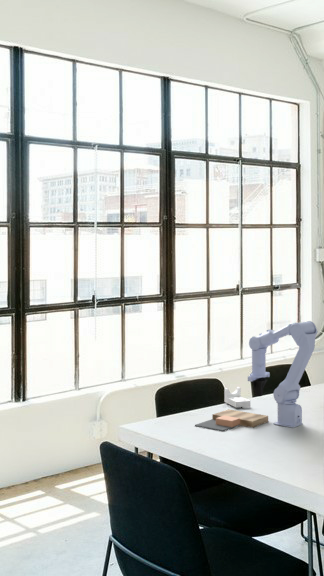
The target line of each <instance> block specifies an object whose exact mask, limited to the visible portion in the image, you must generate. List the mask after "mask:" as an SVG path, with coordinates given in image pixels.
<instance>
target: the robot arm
mask: <svg viewBox="0 0 324 576" xmlns="http://www.w3.org/2000/svg"><path fill="white" fill-rule="evenodd" d="M318 333H319V331H318V329H317V327H316V324H315V323H314V322H313V321H311V320H308V321H301V322H293V323H289V324H287V325H285V326H283V327H281V328H279V329H277V330H273V329H267V330H266V332H264V333H262V332H261V333H259V334H258V335H257V336H256V335H255V336H254V335H253V336H252V337H250V338H249V342H248V345H249V348H250V349H251V373H249V375H248V376H247V382H251V384H252V387H253V389H254V393H255V396H257V397H262V396H263V393H264V388H265V386H266V383H267V382H268V379H267V378H270V376H271V374H270V372H269V371H266V369H267V368H266V360H267V359H266V354H267V349H268V347H269V346H272V345H275V344H278V342H279V341H280V339H281V338H284V337H286V336H291V337H292V338H293V341H294V342H295V344H296V346H298V347H299V348H298V349H297V352H296V355H295V356H294V358H293V361H292V364H291V365H290V367H289V370H288V372H287V375H286V377H285V378H284V380H283V381H281V382H280V383H279V384H278V386H277V387H276V388H275V389H274V390H273V394H272V395H273V399H274V401H276V404H277V421H275V422H273V425H277V426H282V427H288V428H296V427H298V426H301V425H303V424H304V423H303V410H302V409H303V408H302V405H300V404H298V403H297V400H298V399H299V398H300V391H301V385H300V384H299V383H300V381H301V379H302V377H303V374H304V372H305V370H306V368H307V366H308V364H309V362H310V359H311V357H312V356H313V355H312V354H313V353H314V351H315V349H316V348H315V346H316V336H317V335H318Z"/></svg>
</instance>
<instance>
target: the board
mask: <svg viewBox="0 0 324 576" xmlns="http://www.w3.org/2000/svg"><path fill="white" fill-rule="evenodd" d="M224 415H225V416H230V417H236V418H240V426H241V427H242V426H243V427H248V428H255V427H258V426H261V425H264V424H266V423H268V422H269V415H264V414H259V413H255V412H254V413H252V412H247V411H241V410H234V409H229V408H228V409H225V410H221V411H218V412H216V413H213V414H212V415H211V416H212V417H211V418H212V419H213V420H216V418H218V417H221V416H224Z"/></svg>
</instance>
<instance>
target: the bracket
mask: <svg viewBox="0 0 324 576" xmlns="http://www.w3.org/2000/svg"><path fill="white" fill-rule="evenodd" d="M223 391H224V393H223V394H224V403H226V404H229V405H230V406H232V407H234V408H236V409H237V408H241V407H242V409H251V400H250V399H248V398H245V397H243V396H242V395H241V391H242V388H241V387H240V386H236V387H235V390H234V391H233V392H230V390H229V388H227V387H224V390H223Z"/></svg>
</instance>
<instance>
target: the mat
mask: <svg viewBox="0 0 324 576" xmlns="http://www.w3.org/2000/svg"><path fill="white" fill-rule="evenodd" d="M240 426H241V425H237V426H234V427H228V426H223V425H217V424H216V420H213V419H209V420H206V421H203V422H199V423H197V424H194V427H198V428H201V429H202V428H203V429H207V428H208V429H209V430H213V431H218V430H219V432H225V430H226V431H228V429H229V430H231V429H234V428H236V427H240Z"/></svg>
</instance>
